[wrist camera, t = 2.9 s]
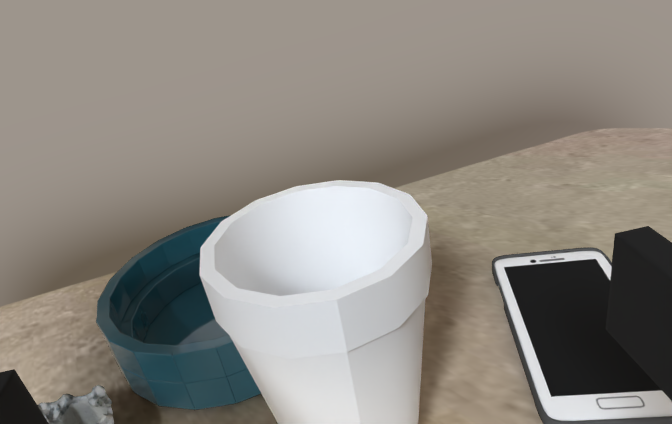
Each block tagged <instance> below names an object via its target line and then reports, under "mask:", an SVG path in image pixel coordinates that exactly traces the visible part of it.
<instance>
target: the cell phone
mask: <svg viewBox="0 0 672 424" xmlns="http://www.w3.org/2000/svg"><path fill="white" fill-rule="evenodd" d="M611 269H612V263H611V261H610V260H609V258H608V257H607V256H606V255H605V254H604V253H603V252H602V251H601V250H599V249H597V248H575V249H564V250H554V251H543V252H533V253H522V254H512V255H503V256H498V257H496V258H494V259H493V261H492V272H493V276H494V280H495V283H496V285H497V286H499V289H500V292H501V295H502V298H503V301H504V310H505V313H506V316H507V319H508V322H509V325H510V328H511V331H512V334H513V337H514V340H515V343H516V346H517V349H518V353H519V356H520V359H521V362H522V365H523V368H524V371H525V374H526V377H527V380H528V383H529V386H530V389H531V392H532V395H533V398H534V402H535V405H536V408H537V411H538V414H539V416H540V418H541V420H542V422H543V424H672V401H671V400H670V399H669V398H668V397H667V395H666V394H665V393H664V392H663V391H662V390H661V389H660V388H659V387H658V386H657V385H656V384H655V382H654V381H653V380H652V379H651V378H650V377H649V376H648V375H647V374H646V373H645V372H644V371H643V369H642V368H641V367H640V366H639V365H638V364H637V363H636V362H635V361H634V360H633V359H632V358H631V356H630V355H629V354H628V353H627V352H626V351H625V350H624V349H623V348H622V347H621V346H620V345H619V343H618V342H617V341H616V340H615V339H614V338H613V337H612V336H611V335H610V334H609V333H608V331H607V330H606V329H605V328H606V318H607V308H608V298H609V288H610V279H611Z"/></svg>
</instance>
